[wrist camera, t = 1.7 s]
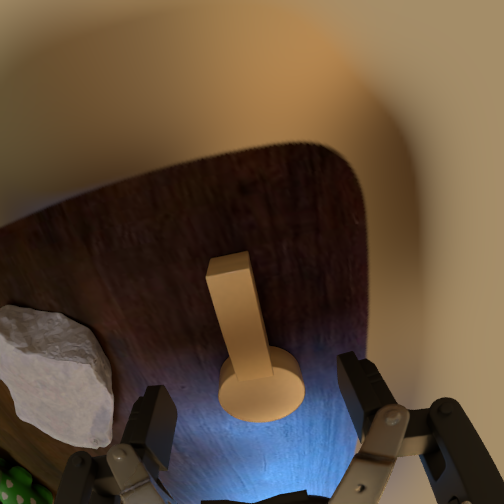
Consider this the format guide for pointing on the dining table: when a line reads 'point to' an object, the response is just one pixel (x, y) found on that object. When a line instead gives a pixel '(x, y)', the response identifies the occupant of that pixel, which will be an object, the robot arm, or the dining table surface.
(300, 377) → the wooden round paddle
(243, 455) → the dining table surface
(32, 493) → the piggy bank
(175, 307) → the dining table surface
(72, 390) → the stone block
